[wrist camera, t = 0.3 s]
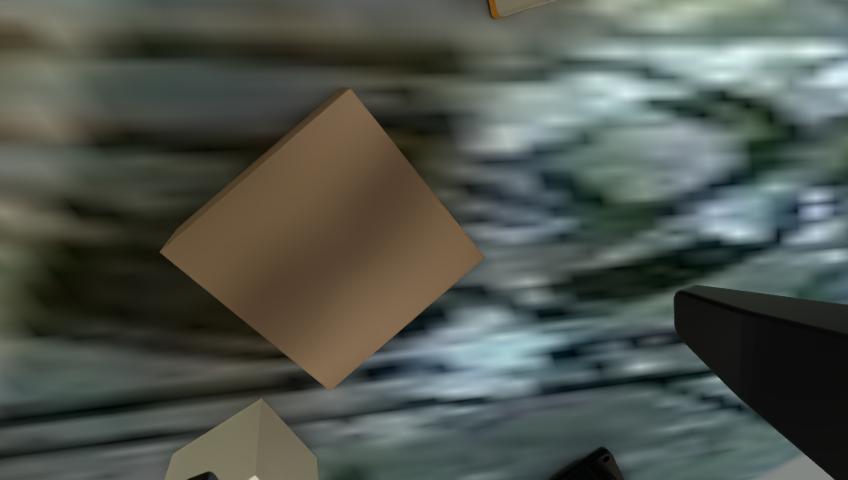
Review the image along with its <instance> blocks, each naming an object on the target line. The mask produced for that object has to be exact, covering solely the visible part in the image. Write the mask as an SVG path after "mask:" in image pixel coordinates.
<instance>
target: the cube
mask: <svg viewBox="0 0 848 480" xmlns="http://www.w3.org/2000/svg"><path fill="white" fill-rule="evenodd" d="M207 471H210V472H213V473H214V474H215V475H216V476H217V478H218V480H318V468H317V457H316V456H315V455H314V454H313V453H312V452H311V451H310V450H309V449H308V448H307V447H306V446H305V444H304V443H303V442H302V441H301V440H300V439H299V438H298V437H297V436H296V435H295V434H294V433H293V431H292V430H291V429H290V428H289V427H288V426H287V425H286V424H285V423H284V422H283V421H282V420H281V418H280V417H279V416H278V415H277V414H276V413H275V412H274V411H273V410H272V409H271V408H270V407H269V405H268V404H267V403H266V402H265V401H264V400H263V399H262V398H261V399H259V400H258V401H256V402H255V403H253V404H251V405H250V406H248V407H247V408H245V409H243V410H242V411H240V412H239V413H237V414H235V415H234V416H232V417H231V418H229V419H228V420H226V421H224V422H223V423H221V424H220V425H218V426H216V427H215V428H213V429H212V430H210V431H208V432H207V433H205V434H204V435H202V436H200V437H199V438H197V439H196V440H194V441H193V442H191V443H189V444H188V445H186V446H185V447H183V448H181V449H180V450H178V451H177V452H175V453H173V455H172V458H171V461H170V464H169V467H168V471H167V474H166V477H165V480H187V479H189V478H191V477H194V476H197V475H199V474H202V473H204V472H207Z"/></svg>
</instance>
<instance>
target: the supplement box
mask: <svg viewBox="0 0 848 480" xmlns="http://www.w3.org/2000/svg"><path fill="white" fill-rule="evenodd" d="M554 1H558V0H489V4H490V9H491V14H492V17H494V18H500V17H505V16H508V15H511V14H514V13H517V12H521V11H524V10H527V9H531V8H534V7H537V6H541V5H544V4H547V3H551V2H554Z"/></svg>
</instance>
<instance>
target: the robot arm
mask: <svg viewBox="0 0 848 480" xmlns="http://www.w3.org/2000/svg"><path fill="white" fill-rule="evenodd" d="M674 325H675V330H676V332H677V334H678V336H679V337H680V339H681V340H682V341H683V342H684V343H685V344H686V345H687V346H688V347H689V348H690V349H691V350H692V351H693V352H694V353H695V354H696V355H697V356H698V357H699V358H700V359H701V360H702V361H703V362H704V363H705V364H706V365H707V366H708V367H709V368H710V369H711V370H712V371H713V372H714V373H715V374H716V375H717V376H718V377H719V378H720V379H721V380H722V381H723V382H724V383H725V384H726V385H727V386H728V387H729V388H730V389H731V390H732V391H733V392H734V393H735V394H736V395H737V396H738V397H739V398H740V399H741V400H742V401H743V402H744V403H746V404H747V405H748V406H749V407H750V408H751V409H752V410H754V411H755V412H756V413H757V414H758V415H759V416H761V417H762V418H763V419H764V420H765V421H766V422H768V423H769V424H770V425H771V426H772V427H774V428H775V429H776V430H777V431H778V432H779V433H781V434H782V435H783V436H784V437H785V438H786V439H788V440H789V441H790V442H791V443H792V444H793V445H795V446H796V447H797V448H798V449H799V450H800V451H802V452H803V453H804V454H805V455H806V456H808V457H809V458H810V459H811V460H812V461H813V462H815V463H816V464H817V465H818V466H819V467H820V468H822V469H823V470H824V471H825V472H826V473H827V474H829V475H830V476H831V477H832V478H833V479H835V480H848V305H846V304H839V303H831V302H823V301H816V300H808V299H801V298H793V297H785V296H778V295H770V294H763V293H755V292H748V291H740V290H732V289H725V288H717V287H710V286H702V285H692V286H689V287H687V288H684V289H681V290H679V291H677V292H676V293H675V296H674ZM187 480H218V478H217V476H216V475H215V474H214V473H213V472H210V471H207V472H204V473H202V474H199V475H197V476H194V477H191V478H189V479H187ZM557 480H624V479H623V476H622V474H621V472H620V470H619V468H618V466H617V464H616V462H615V460H614V457H613V455H612V454H611V453H610V452H609V451H608V450H607V449H602V450H600V451H599V452H597V453H596V454H594V455H593V456H591V457H590V458H588V459H587V460H585V461H584V462H582V463H581V464H579V465H578V466H577V467H575V468H574V469H572V470H571V471H569V472H568V473H566V474H565V475H563V476H562V477H560V478H559V479H557Z"/></svg>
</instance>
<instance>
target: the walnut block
mask: <svg viewBox="0 0 848 480" xmlns="http://www.w3.org/2000/svg"><path fill="white" fill-rule="evenodd" d="M160 253H161V254H162V255H164V256H165V257H166V258H167V259H169V260H170V261H171V262H172V263H173V264H175V265H176V266H177V267H178V268H180V269H181V270H182V271H183V272H185V273H186V274H187V275H188V276H189V277H191V278H192V279H193V280H194V281H196V282H197V283H198V284H199V285H201V286H202V287H203V288H204V289H205V290H207V291H208V292H209V293H210V294H212V295H213V296H214V297H215V298H217V299H218V300H219V301H220V302H221V303H223V304H224V305H225V306H226V307H228V308H229V309H230V310H231V311H232V312H234V313H235V314H236V315H237V316H239V317H240V318H241V319H242V320H244V321H245V322H246V323H247V324H248V325H250V326H251V327H252V328H253V329H255V330H256V331H257V332H258V333H260V334H261V335H262V336H263V337H264V338H266V339H267V340H268V341H269V342H271V343H272V344H273V345H274V346H276V347H277V348H278V349H279V350H280V351H282V352H283V353H284V354H285V355H287V356H288V357H289V358H290V359H291V360H293V361H294V362H295V363H296V364H298V365H299V366H300V367H301V368H303V369H304V370H305V371H306V372H307V373H309V374H310V375H311V376H312V377H314V378H315V379H316V380H317V381H319V382H320V383H321V384H322V385H323V386H325V387H326V388H327V389H328V390H332V389H333V388H334V387H335V386H336V385H337V384H339V383H340V382H341V381H342V380H343V379H344V378H346V377H347V376H348V375H349V374H350V373H351V372H353V371H354V370H355V369H356V368H357V367H358V366H359V365H361V364H362V363H363V362H364V361H365V360H366V359H368V358H369V357H370V356H371V355H372V354H373V353H375V352H376V351H377V350H378V349H379V348H380V347H382V346H383V345H384V344H385V343H386V342H387V341H389V340H390V339H391V338H392V337H393V336H394V335H396V334H397V333H398V332H399V331H400V330H401V329H402V328H404V327H405V326H406V325H407V324H408V323H409V322H411V321H412V320H413V319H414V318H415V317H416V316H418V315H419V314H420V313H421V312H422V311H423V310H425V309H426V308H427V307H428V306H429V305H430V304H432V303H433V302H434V301H435V300H436V299H437V298H439V297H440V296H441V295H442V294H443V293H444V292H445V291H447V290H448V289H449V288H450V287H451V286H452V285H454V284H455V283H456V282H457V281H458V280H459V279H461V278H462V277H463V276H464V275H465V274H466V273H468V272H469V271H470V270H471V269H472V268H473V267H475V266H476V265H477V264H478V263H479V262H480V261H482V260H483V259H484V258H485V257H484V256H483V254H482V253H481V252H480V251H479V249H478V248H477V247H476V246H475V244H474V243H473V242H472V241H471V239H470V238H469V237H468V236H467V234H466V233H465V232H464V231H463V229H462V228H461V227H460V226H459V224H458V223H457V222H456V221H455V219H454V218H453V217H452V215H451V214H450V213H449V212H448V210H447V209H446V208H445V207H444V205H443V204H442V203H441V202H440V200H439V199H438V198H437V197H436V195H435V194H434V193H433V192H432V190H431V189H430V188H429V187H428V185H427V184H426V183H425V182H424V180H423V179H422V178H421V176H420V175H419V174H418V173H417V171H416V170H415V169H414V168H413V166H412V165H411V164H410V163H409V161H408V160H407V159H406V158H405V156H404V155H403V154H402V153H401V151H400V150H399V149H398V148H397V146H396V145H395V144H394V143H393V141H392V140H391V139H390V137H389V136H388V135H387V134H386V132H385V131H384V130H383V129H382V127H381V126H380V125H379V124H378V122H377V121H376V120H375V119H374V117H373V116H372V115H371V114H370V112H369V111H368V110H367V109H366V107H365V106H364V105H363V104H362V102H361V101H360V100H359V98H358V97H357V96H356V95H355V93H354V92H353V91H352V90H351V88H340V89H339V90H337V91H336V92H335V93H334V94H333V95H332V96H330V97H329V98H328V99H327V100H326V101H325V102H323V103H322V104H321V105H320V106H319V107H318V108H316V109H315V110H314V111H313V112H312V113H311V114H309V115H308V116H307V117H306V118H305V119H304V120H302V121H301V122H300V123H299V124H298V125H297V126H295V127H294V128H293V129H292V130H291V131H290V132H288V133H287V134H286V135H285V136H284V137H283V138H281V139H280V140H279V141H278V142H277V143H276V144H274V145H273V146H272V147H271V148H270V149H269V150H267V151H266V152H265V153H264V154H263V155H262V156H260V157H259V158H258V159H257V160H256V161H255V162H253V163H252V164H251V165H250V166H249V167H248V168H246V169H245V170H244V171H243V172H242V173H241V174H239V175H238V176H237V177H236V178H235V179H234V180H232V181H231V182H230V183H229V184H228V185H227V186H225V187H224V188H223V189H222V190H221V191H220V192H218V193H217V194H216V195H215V196H214V197H213V198H211V199H210V200H209V201H208V202H207V203H206V204H205V205H203V206H202V207H201V208H200V209H199V210H198V211H196V212H195V213H194V214H193V215H192V216H191V217H189V218H188V219H187V220H186V221H185V222H184V223H182V224H181V225H180V226H179V227H178V228H177V229H176V231H175V232H174V233H173V235H172V236H171V237H170V239H169V240H168V241H167V243H166V244H165V245H164V247H163V248H162V249H161V251H160Z"/></svg>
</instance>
